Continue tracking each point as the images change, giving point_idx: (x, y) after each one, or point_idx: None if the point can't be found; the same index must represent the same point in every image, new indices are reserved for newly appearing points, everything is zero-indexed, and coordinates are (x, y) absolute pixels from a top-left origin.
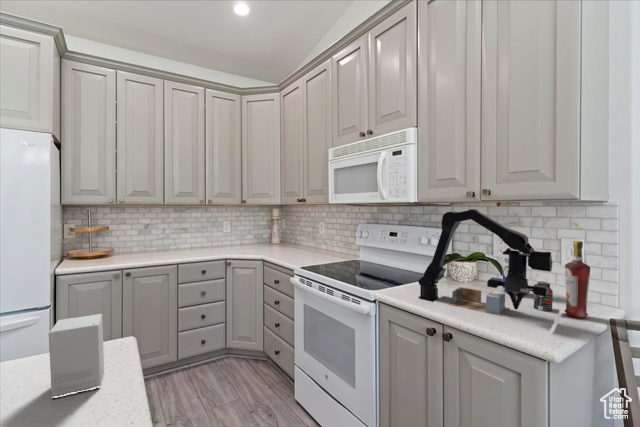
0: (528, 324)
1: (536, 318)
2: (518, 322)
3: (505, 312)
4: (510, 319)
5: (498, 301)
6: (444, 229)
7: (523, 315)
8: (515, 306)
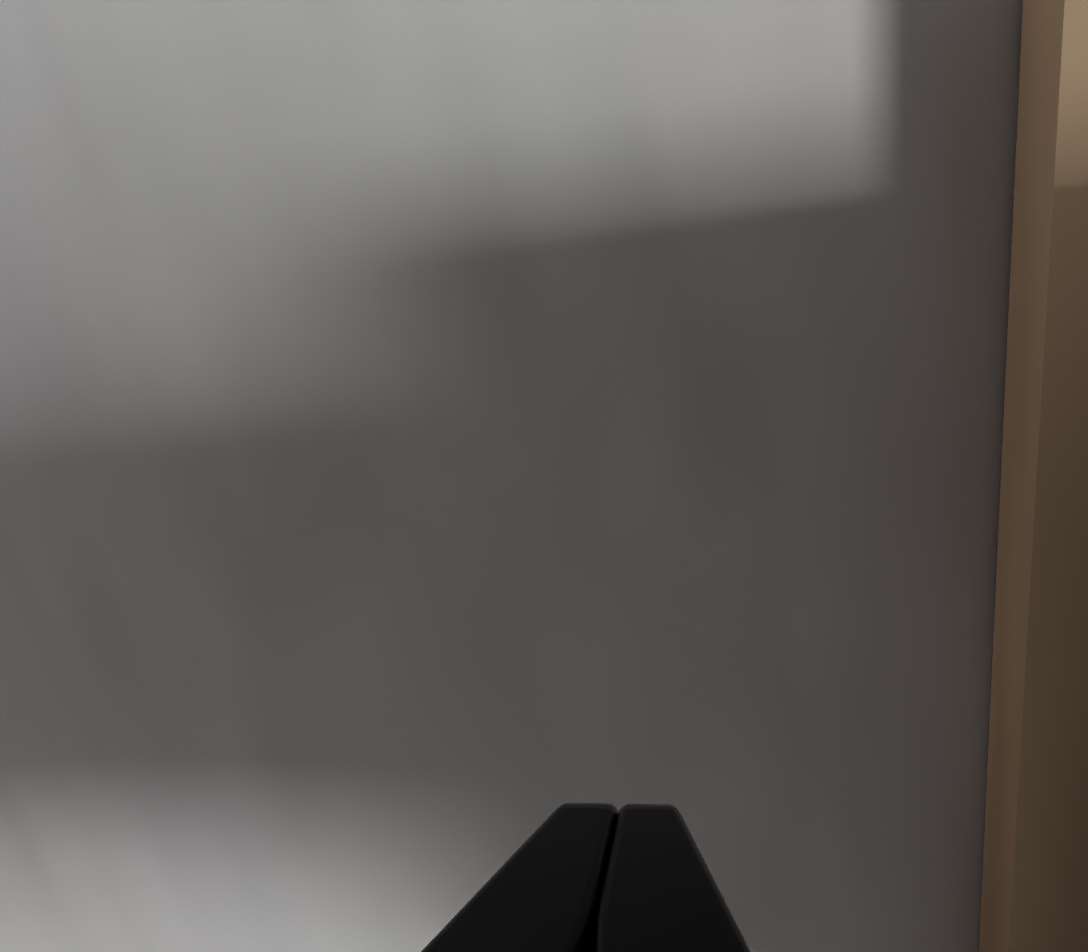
0: (69, 137)
1: (179, 903)
2: (376, 71)
3: (1039, 646)
4: (715, 205)
5: None
6: None
7: None
8: (613, 889)
